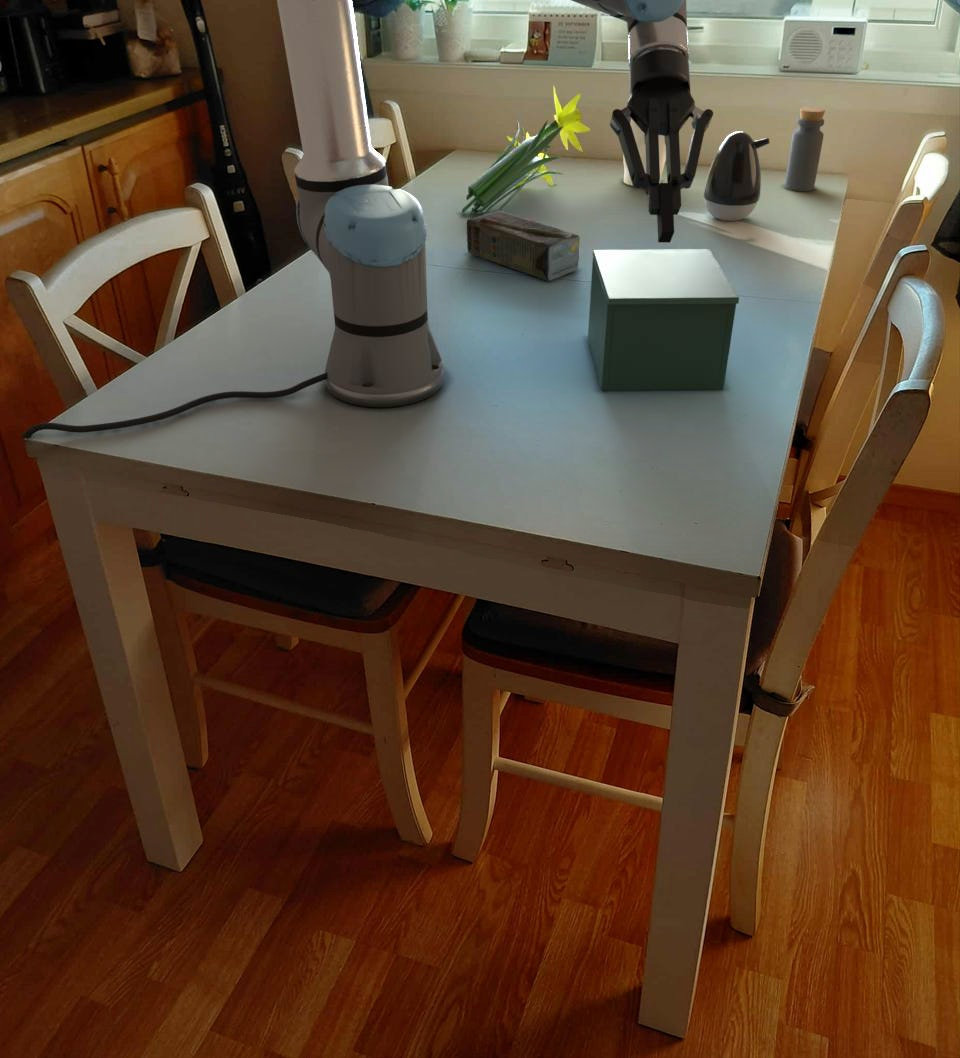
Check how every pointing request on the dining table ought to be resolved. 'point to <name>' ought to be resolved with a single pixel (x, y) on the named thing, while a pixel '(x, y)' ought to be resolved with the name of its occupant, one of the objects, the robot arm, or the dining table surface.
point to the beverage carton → (523, 244)
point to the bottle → (805, 150)
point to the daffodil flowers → (525, 159)
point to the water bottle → (644, 151)
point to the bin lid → (663, 277)
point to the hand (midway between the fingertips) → (666, 237)
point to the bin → (658, 343)
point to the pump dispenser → (734, 178)
